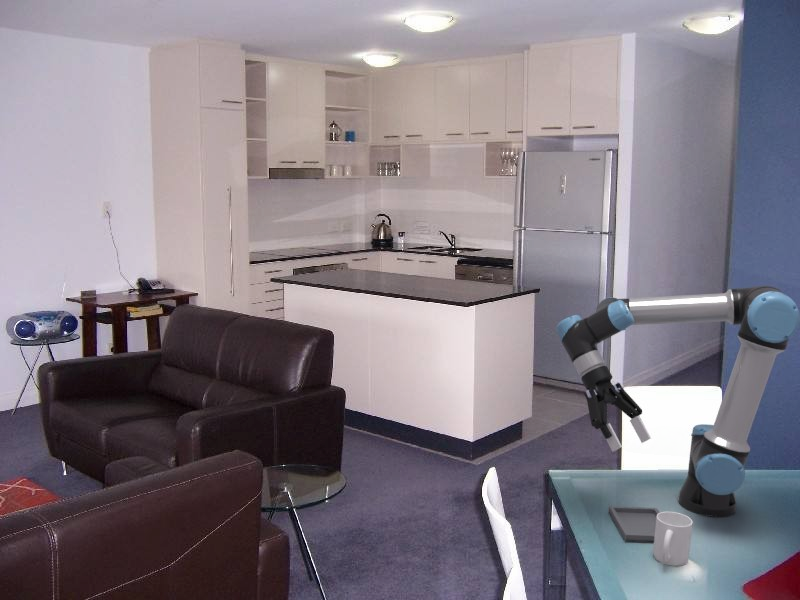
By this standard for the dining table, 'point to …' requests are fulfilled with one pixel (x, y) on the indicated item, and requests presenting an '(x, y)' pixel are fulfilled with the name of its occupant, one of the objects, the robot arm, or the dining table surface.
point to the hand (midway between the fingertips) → (632, 445)
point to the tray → (635, 523)
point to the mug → (672, 538)
